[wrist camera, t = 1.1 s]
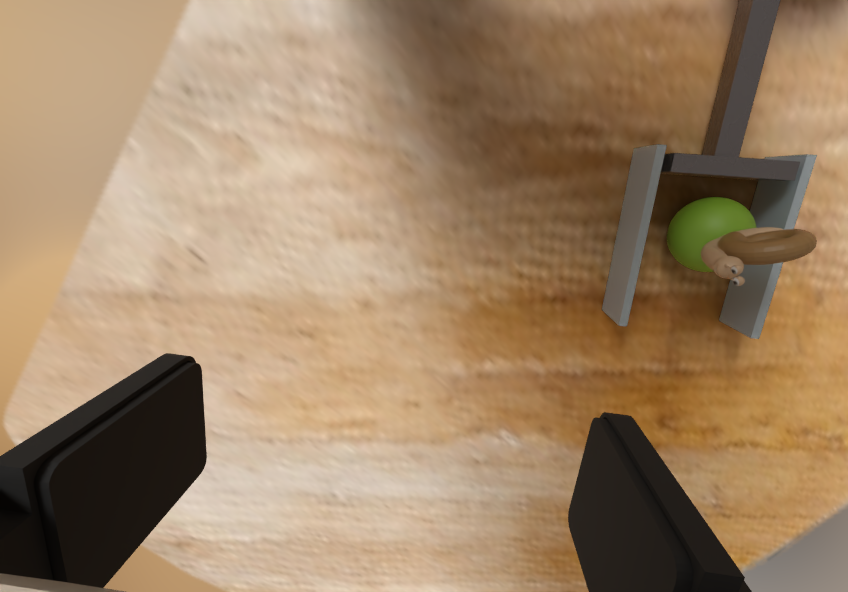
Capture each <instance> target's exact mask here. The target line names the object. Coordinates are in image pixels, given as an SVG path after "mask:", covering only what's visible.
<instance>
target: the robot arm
mask: <svg viewBox="0 0 848 592" xmlns="http://www.w3.org/2000/svg"><path fill="white" fill-rule="evenodd" d="M206 458H207V455H206V437H205V420H204V403H203V385H202V370H201V366H200V365H199V364H198V363H196V361H195V359H194V358H193V357H191V356H184V355H176V354H168V353H166V354H164V355H162V356H160V357H159V358H157V359H156V360H154V361H152V362H151V363H149V364H148V365H146V366H144V367H143V368H141V369H140V370H138V371H136V372H135V373H133V374H131V375H130V376H128V377H127V378H125V379H123V380H122V381H120V382H119V383H117V384H115V385H114V386H112V387H111V388H109V389H107V390H106V391H104V392H103V393H101V394H99V395H98V396H96V397H95V398H93V399H91V400H90V401H88V402H86V403H85V404H83V405H82V406H80V407H78V408H77V409H75V410H74V411H72V412H70V413H69V414H67V415H66V416H64V417H62V418H61V419H59V420H58V421H56V422H54V423H53V424H51V425H50V426H48V427H46V428H45V429H43V430H42V431H40V432H38V433H37V434H35V435H33V436H32V437H30V438H29V439H27V440H25V441H24V442H22V443H21V444H19V445H17V446H16V447H14V448H13V449H11V450H9V451H8V452H6V453H5V454H3V455H1V456H0V592H124V591H118V590H112V589H105V588H103V587H104V586H105V585H106V584H107V583H108V582H109V581H110V579H111V578H112V577H113V576H114V575H115V573H116V572H117V571H118V570H119V569H120V568H121V567H122V565H123V564H124V563H125V562H126V560H127V559H128V558H129V557H130V556H131V555H132V554H133V552H134V551H135V550H136V549H137V548H138V546H139V545H140V544H141V543H142V542H143V541H144V540H145V538H146V537H147V536H148V535H149V534H150V533H151V531H152V530H153V529H154V528H155V527H156V525H157V524H158V523H159V522H160V521H161V520H162V518H163V517H164V516H165V515H166V514H167V513H168V511H169V510H170V509H171V508H172V507H173V506H174V504H175V503H176V502H177V501H178V500H179V499H180V497H181V496H182V495H183V494H184V493H185V491H186V490H187V489H188V488H189V487H190V486H191V484H192V483H193V482H194V481H195V480H196V479H197V477H198V476H199V475H200V474H201V472H202V471H203V469H204V467H205V464H206ZM568 522H569V528H570V532H571V535H572V538H573V541H574V545H575V548H576V551H577V554H578V558H579V561H580V564H581V567H582V571H583V574H584V577H585V580H586V584H587V587H588V590H589V592H751V590H750V589H749V587H748V586H747V585H746V583H745V581H744V578H745V577H744V576H743V574H742V573H741V572H740V570H739V569H738V567H737V566H736V564H735V563H734V562H733V560H732V559H731V557H730V556H729V554H728V553H727V552H726V550H725V549H724V547H723V546H722V544H721V543H720V542H719V540H718V539H717V537H716V536H715V534H714V533H713V532H712V530H711V529H710V527H709V526H708V524H707V523H706V522H705V520H704V519H703V517H702V516H701V515H700V513H699V512H698V510H697V509H696V507H695V506H694V505H693V503H692V502H691V500H690V499H689V497H688V496H687V495H686V493H685V492H684V490H683V489H682V487H681V486H680V485H679V483H678V482H677V480H676V479H675V477H674V476H673V475H672V473H671V472H670V470H669V469H668V467H667V466H666V465H665V463H664V462H663V460H662V459H661V457H660V456H659V455H658V453H657V452H656V450H655V449H654V447H653V446H652V445H651V443H650V442H649V440H648V439H647V437H646V436H645V435H644V433H643V432H642V430H641V429H640V427H639V426H638V425H637V423H636V422H635V420H634V419H633V418H632V417H631V416H628V415H620V414H613V413H606V412H605V413H603V414H602V415H601V417H600V418H594V419H593V421H592V423H591V427H590V431H589V435H588V439H587V442H586V446H585V450H584V454H583V458H582V462H581V466H580V469H579V473H578V477H577V481H576V485H575V489H574V493H573V497H572V500H571V504H570V508H569V514H568Z"/></svg>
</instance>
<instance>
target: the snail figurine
mask: <svg viewBox="0 0 848 592" xmlns="http://www.w3.org/2000/svg"><path fill="white" fill-rule="evenodd" d="M816 242H817V240H816V237H815V236H814V235H813V234H812V233H810V232H808V231H805V230H799V229H786V230H783V229H781V228H775V227H759V228H757V227H756V223H755V220H754V218H753V216H752V214H751V213H750V211H749V210H748V209H747V208H746V207H744V206H743V205H742V204H740V203H738V202H736V201H734V200H731V199H728V198H723V197H708V198H702V199H699V200H696V201H694V202H691V203H689V204H688V205H686V206H685V207H683V208H682V209H681V210H680V211H679V212H678V213H677V214H676V215H675V216H674V217H673V219H672V220H671V222H670V224H669V227H668V231H667V244H668V248H669V250H670V252H671V254H672V255H673V257H674V258H675V259H676V260H677V261H678V262H679V263H680V264H682V265H683V266H685V267H687V268H689V269H692V270H696V271H701V272H715V273H716V274H717V275H718V276H719V277H721V278H729V279H731V280H733V284H734V285H736V286H741V285H743V284H744V282H745V279H744V278H743V277H741V276H738V275H739V274H741V273H742V272H743V269H744V265H766V264H775V263H781V262H786V261H791V260H794V259H798V258H800V257H803V256H805V255H807V254H808V253H810V252H811V251H812V250H813V249H814V248H815V247H816ZM732 278H733V279H732Z"/></svg>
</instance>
